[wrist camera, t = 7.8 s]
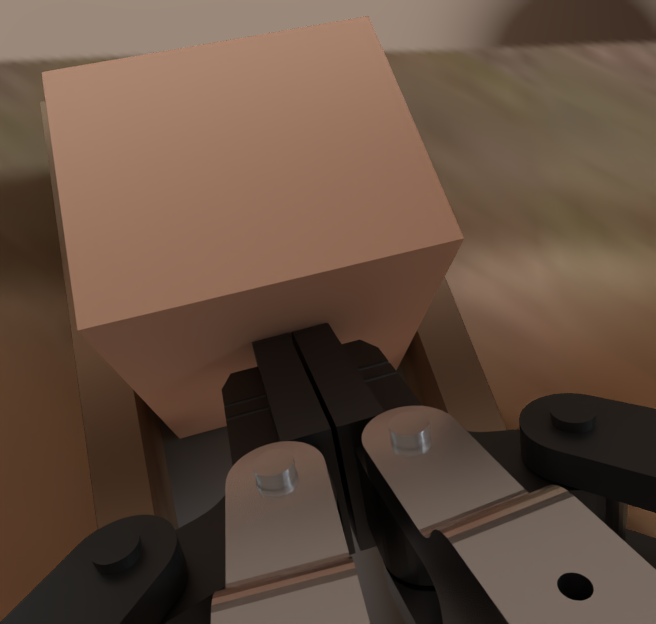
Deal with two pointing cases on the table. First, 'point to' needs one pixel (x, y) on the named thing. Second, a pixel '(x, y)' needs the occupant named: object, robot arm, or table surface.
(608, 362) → the table surface
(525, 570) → the robot arm
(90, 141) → the block
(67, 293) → the chute
